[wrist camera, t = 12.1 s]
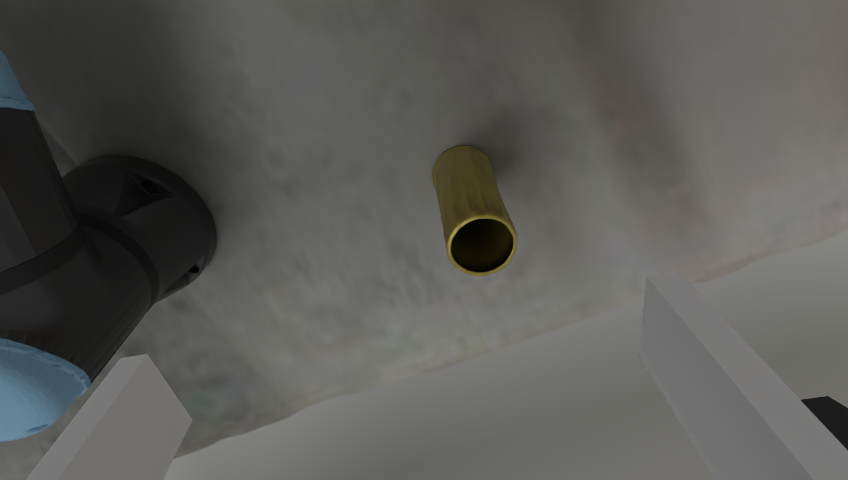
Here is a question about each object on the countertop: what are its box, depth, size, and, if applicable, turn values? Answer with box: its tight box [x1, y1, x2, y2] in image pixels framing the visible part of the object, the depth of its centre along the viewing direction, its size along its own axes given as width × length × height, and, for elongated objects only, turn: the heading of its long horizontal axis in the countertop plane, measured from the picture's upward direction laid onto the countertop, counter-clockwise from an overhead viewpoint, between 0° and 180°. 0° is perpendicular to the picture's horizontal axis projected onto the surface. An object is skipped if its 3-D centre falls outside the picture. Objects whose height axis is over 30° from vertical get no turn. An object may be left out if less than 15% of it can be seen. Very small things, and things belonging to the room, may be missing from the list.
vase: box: [432, 146, 517, 276], centre depth 38 cm, size 6×6×14 cm
